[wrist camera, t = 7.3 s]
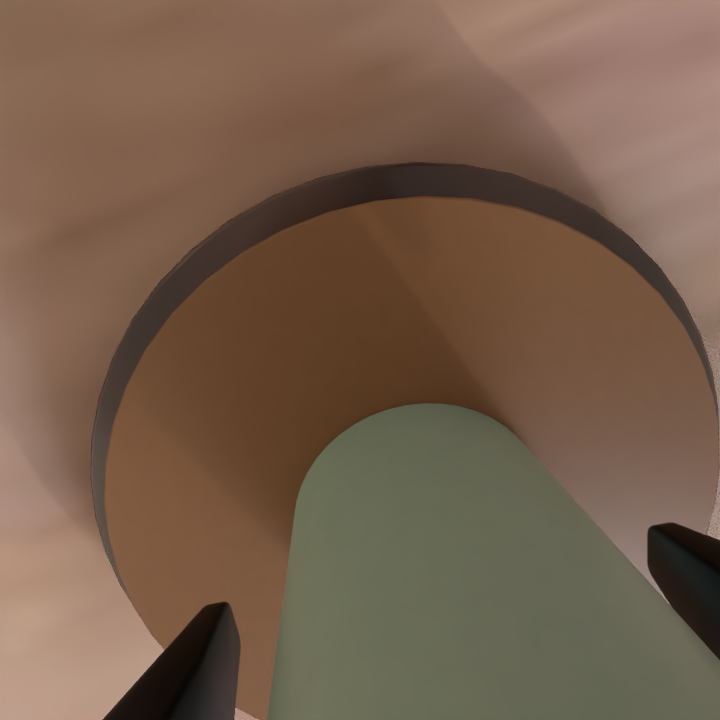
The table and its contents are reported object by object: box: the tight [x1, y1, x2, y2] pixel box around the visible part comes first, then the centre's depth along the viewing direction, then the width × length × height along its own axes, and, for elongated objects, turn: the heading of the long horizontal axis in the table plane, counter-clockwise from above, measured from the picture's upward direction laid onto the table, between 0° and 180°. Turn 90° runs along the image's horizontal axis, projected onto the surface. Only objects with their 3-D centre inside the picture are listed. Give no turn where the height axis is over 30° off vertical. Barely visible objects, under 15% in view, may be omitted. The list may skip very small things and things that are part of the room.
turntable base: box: [91, 162, 719, 601], centre depth 12 cm, size 15×15×1 cm
